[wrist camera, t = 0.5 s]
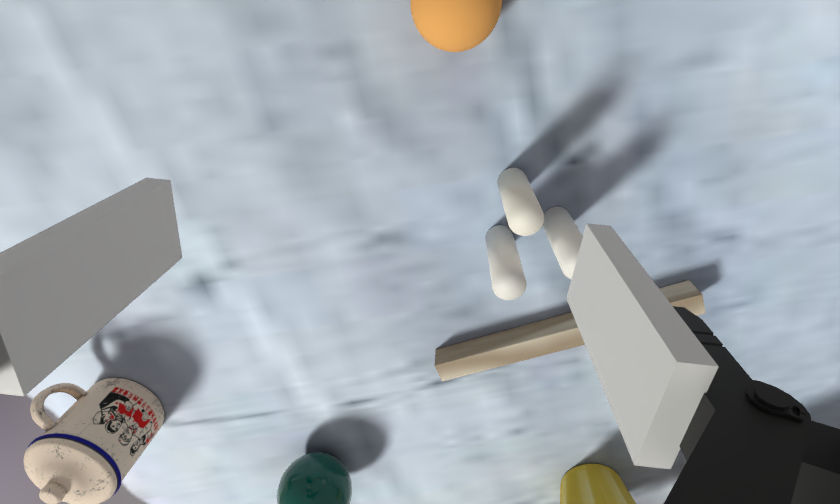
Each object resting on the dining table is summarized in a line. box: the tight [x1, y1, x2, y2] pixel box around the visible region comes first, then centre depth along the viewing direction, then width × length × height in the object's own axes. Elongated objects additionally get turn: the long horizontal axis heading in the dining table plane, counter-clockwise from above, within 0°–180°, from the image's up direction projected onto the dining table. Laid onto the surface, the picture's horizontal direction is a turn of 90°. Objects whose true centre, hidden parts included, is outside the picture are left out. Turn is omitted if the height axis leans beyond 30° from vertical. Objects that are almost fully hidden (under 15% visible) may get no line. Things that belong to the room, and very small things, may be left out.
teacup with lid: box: [24, 378, 164, 504], centre depth 48 cm, size 12×9×12 cm
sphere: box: [277, 452, 352, 504], centre depth 52 cm, size 8×8×8 cm
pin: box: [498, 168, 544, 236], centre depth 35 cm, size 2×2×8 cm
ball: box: [411, 0, 502, 52], centre depth 31 cm, size 6×6×6 cm
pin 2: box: [543, 207, 583, 279], centre depth 37 cm, size 2×2×8 cm
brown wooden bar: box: [435, 280, 705, 381], centre depth 44 cm, size 2×24×2 cm, turn 111°
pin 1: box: [486, 225, 526, 300], centre depth 38 cm, size 2×2×8 cm
